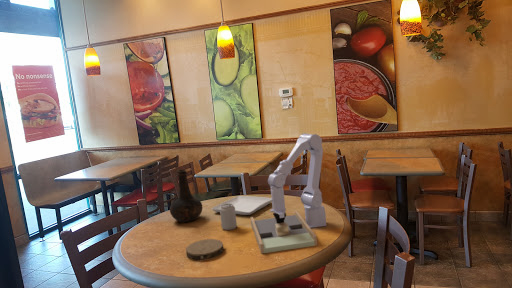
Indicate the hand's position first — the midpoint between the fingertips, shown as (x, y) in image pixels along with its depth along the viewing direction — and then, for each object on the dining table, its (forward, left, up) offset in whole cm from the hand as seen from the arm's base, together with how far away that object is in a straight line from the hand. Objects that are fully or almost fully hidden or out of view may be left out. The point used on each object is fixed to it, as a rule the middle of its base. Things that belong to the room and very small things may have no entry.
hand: (280, 228), depth 177 cm
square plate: (+13, -49, -4) cm, 50 cm away
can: (+23, -19, -3) cm, 30 cm away
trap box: (0, -1, -3) cm, 3 cm away
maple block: (0, +4, -1) cm, 4 cm away
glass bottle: (+45, -42, -3) cm, 61 cm away
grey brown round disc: (+35, +7, -4) cm, 36 cm away
